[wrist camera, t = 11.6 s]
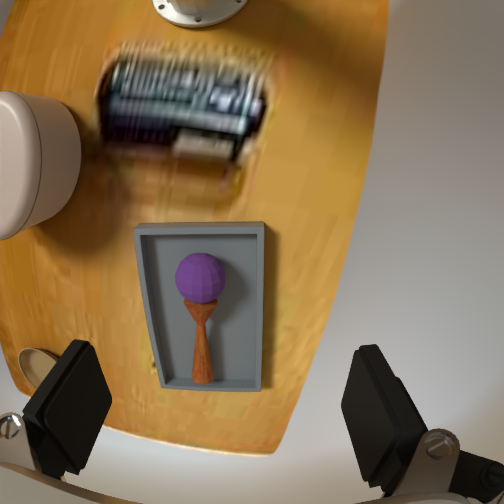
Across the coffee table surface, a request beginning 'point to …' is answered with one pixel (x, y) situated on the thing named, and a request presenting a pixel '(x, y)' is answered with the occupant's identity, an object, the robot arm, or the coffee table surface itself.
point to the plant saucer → (35, 365)
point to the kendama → (200, 304)
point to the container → (35, 160)
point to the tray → (225, 313)
